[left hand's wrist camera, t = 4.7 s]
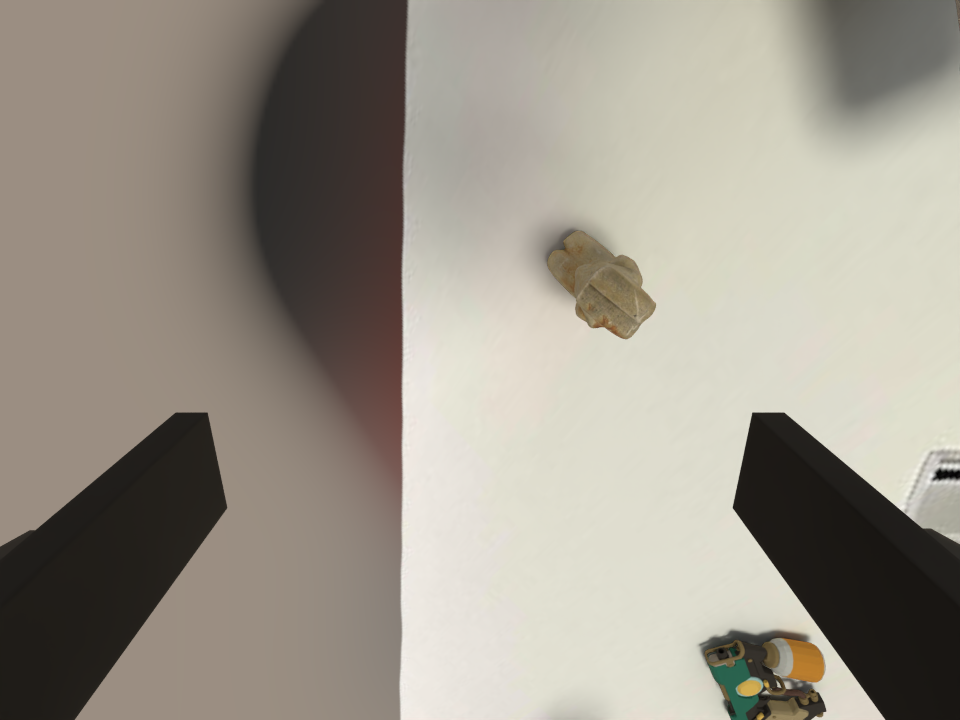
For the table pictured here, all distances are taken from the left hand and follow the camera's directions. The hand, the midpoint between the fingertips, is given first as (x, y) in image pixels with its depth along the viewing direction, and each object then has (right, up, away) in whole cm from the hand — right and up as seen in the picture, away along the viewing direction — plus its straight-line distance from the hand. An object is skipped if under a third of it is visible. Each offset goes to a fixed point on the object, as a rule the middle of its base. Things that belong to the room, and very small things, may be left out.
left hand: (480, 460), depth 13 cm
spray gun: (+36, -38, +55) cm, 76 cm away
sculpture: (+10, +11, +36) cm, 39 cm away
